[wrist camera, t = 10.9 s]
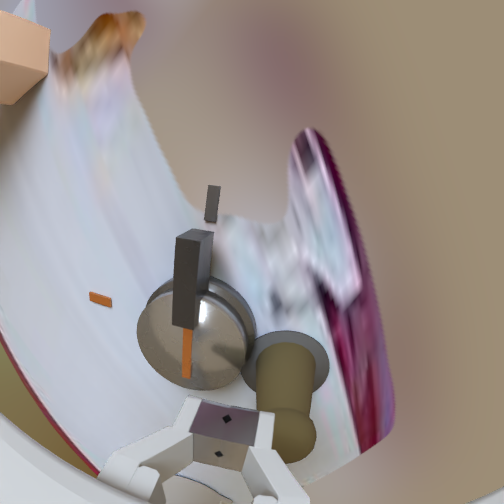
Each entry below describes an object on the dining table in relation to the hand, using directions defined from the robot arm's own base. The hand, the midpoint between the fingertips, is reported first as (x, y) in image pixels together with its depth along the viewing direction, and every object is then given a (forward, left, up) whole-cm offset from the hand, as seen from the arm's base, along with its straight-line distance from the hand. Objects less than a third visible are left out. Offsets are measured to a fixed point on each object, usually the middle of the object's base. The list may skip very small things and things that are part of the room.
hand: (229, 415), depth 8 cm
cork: (-10, -3, -16) cm, 19 cm away
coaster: (-10, -3, -17) cm, 20 cm away
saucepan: (-5, +6, -15) cm, 16 cm away
